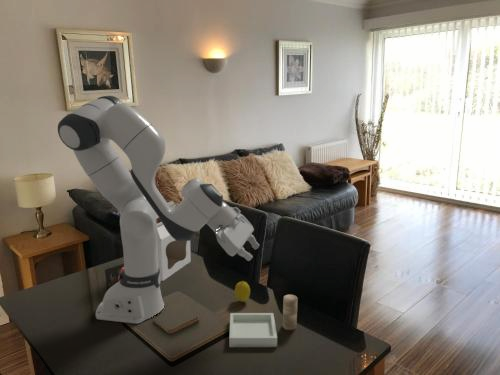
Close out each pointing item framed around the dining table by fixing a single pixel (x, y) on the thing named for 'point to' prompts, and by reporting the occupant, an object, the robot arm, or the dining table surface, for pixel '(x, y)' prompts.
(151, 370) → the dining table surface
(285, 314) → the dowel
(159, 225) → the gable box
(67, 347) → the dining table surface
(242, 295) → the lemon
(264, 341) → the tray
